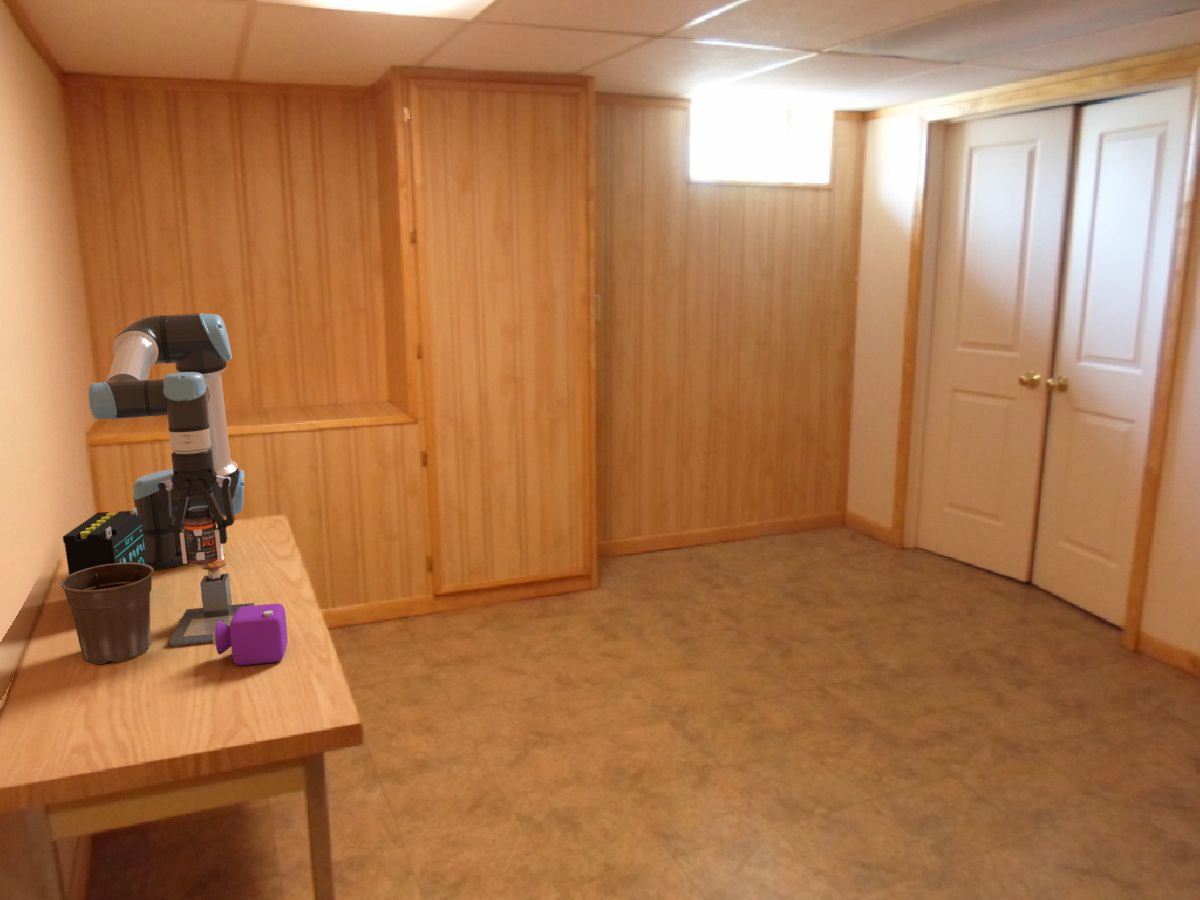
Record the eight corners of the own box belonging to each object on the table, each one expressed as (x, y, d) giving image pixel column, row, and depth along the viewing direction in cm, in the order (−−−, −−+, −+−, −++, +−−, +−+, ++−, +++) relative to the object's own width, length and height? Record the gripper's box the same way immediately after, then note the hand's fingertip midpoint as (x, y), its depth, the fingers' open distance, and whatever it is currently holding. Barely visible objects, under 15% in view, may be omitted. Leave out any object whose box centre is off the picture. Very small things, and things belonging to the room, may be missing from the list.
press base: (187, 615, 202) (182, 576, 200) (254, 609, 205) (250, 570, 203) (170, 646, 186) (165, 604, 184) (243, 639, 189) (239, 597, 187)
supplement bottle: (208, 566, 186) (201, 512, 183) (181, 565, 187) (175, 511, 184) (225, 557, 191) (219, 504, 189) (200, 555, 192) (194, 503, 190)
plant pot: (180, 641, 188) (172, 566, 185) (116, 674, 173) (105, 593, 170) (120, 631, 194) (110, 558, 191) (52, 663, 179) (40, 584, 176)
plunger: (205, 584, 201) (201, 554, 200) (230, 582, 202) (227, 552, 201) (200, 592, 196) (197, 561, 195) (226, 590, 197) (223, 559, 196)
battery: (121, 617, 202) (110, 530, 198) (74, 620, 200) (62, 532, 196) (150, 587, 220) (140, 506, 216) (108, 589, 219) (97, 509, 215)
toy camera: (214, 653, 182) (209, 606, 180) (287, 641, 187) (282, 595, 185) (215, 675, 172) (210, 625, 170) (292, 661, 178) (287, 613, 176)
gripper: (135, 456, 178) (149, 570, 183) (238, 450, 183) (249, 561, 187) (145, 449, 185) (158, 558, 190) (244, 443, 190) (254, 550, 194)
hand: (203, 559), depth 189 cm, fingers closed on supplement bottle, 6 cm apart
